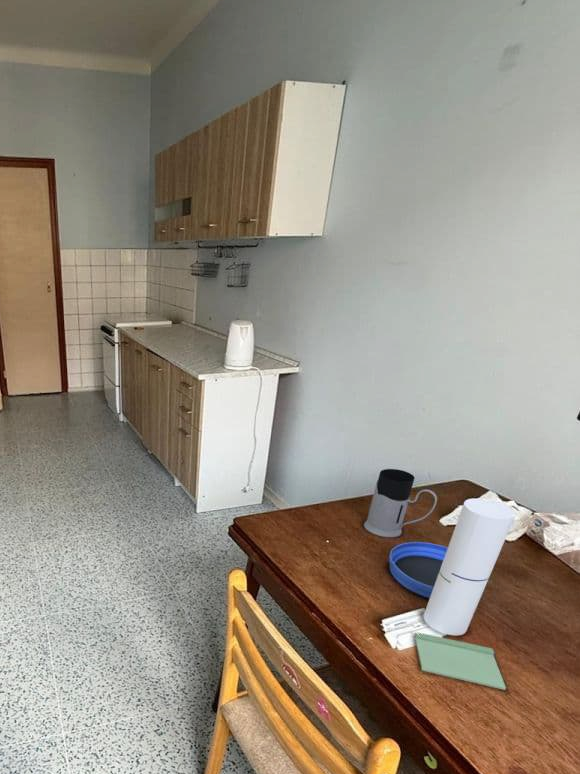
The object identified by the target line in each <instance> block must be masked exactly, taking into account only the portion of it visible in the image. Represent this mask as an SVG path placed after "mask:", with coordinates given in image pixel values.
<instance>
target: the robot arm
mask: <svg viewBox="0 0 580 774" xmlns="http://www.w3.org/2000/svg"><path fill="white" fill-rule="evenodd" d="M576 420H578V421H579V422H580V411H579V412H578V414H577V416H576Z"/></svg>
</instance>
